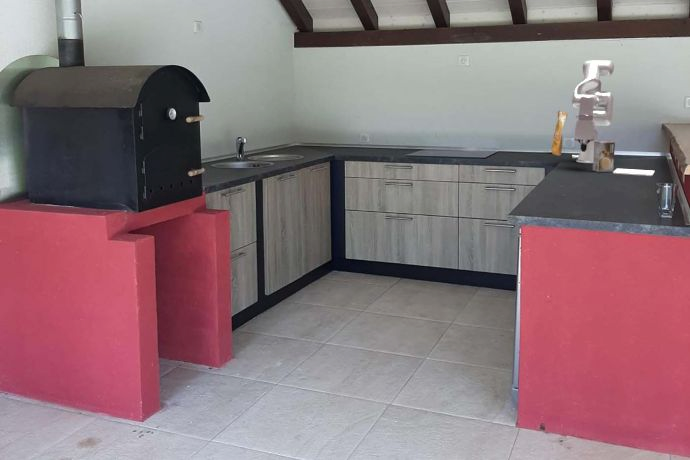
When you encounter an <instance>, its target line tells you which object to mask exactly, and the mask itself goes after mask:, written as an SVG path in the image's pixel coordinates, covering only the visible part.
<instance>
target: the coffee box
mask: <svg viewBox="0 0 690 460" xmlns="http://www.w3.org/2000/svg"><path fill="white" fill-rule="evenodd" d="M615 144H616V142H615V141H597V142H594V157H593V163H592V171H593V172H597V173H603V172H614V162H615V161H614V160H615V148H616V145H615Z"/></svg>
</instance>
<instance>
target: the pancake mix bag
mask: <svg viewBox="0 0 690 460" xmlns="http://www.w3.org/2000/svg"><path fill="white" fill-rule="evenodd" d="M567 118H568V113H567V112H566V111H563V110H558V111H557V118H556V125H555V129H554V133H553V138H552V146H551V155H553V156H561V155H562V151H563V130H564V126H565V122H566V120H567Z"/></svg>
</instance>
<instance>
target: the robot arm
mask: <svg viewBox="0 0 690 460" xmlns="http://www.w3.org/2000/svg"><path fill="white" fill-rule="evenodd" d="M614 69H615V65H614V61H613V60H610V59H609V60H596V59H593V60H591V59H590V60H586V61H584V62H583V63H582V73H583V81H581V82H580V83H578V85H577V86H576V87H574V90H573V94H572V99H571V104H572V106H573V108H575V109H579V110H578V115H575V119H577V120H576V123H575V130H574V141H576V142H578V143H579V144H580V147H579V148H580V149H579V154H572V155H571V156H572V159H576V162H577V163H582V164H593V157H594V142H598V139H599V137H598V136H599V133H598V130H597V129H596V127H595V126H600V127H601V126H602V127H603V126H604V127H606V126H610V125H611V123H612V120H613V111H614V110H613V109H614V107H613V106H614V94H613V92H611V91H607V90H605V91H604V90H603V91H602V81H601V80H600V76H601V77H604V76H606V77H608V76H609V77H610V76H612V74H613V72H614ZM583 93H585V94H583ZM596 108H602V109H596ZM603 108H604V109H603Z"/></svg>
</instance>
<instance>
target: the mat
mask: <svg viewBox="0 0 690 460" xmlns="http://www.w3.org/2000/svg"><path fill="white" fill-rule="evenodd" d="M654 173H655V170H645V169H631V168H630V169H629V168H616V169H615V170H613V171H612V174H615V175H629V176H644V177H652V176H653V175H654Z"/></svg>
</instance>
